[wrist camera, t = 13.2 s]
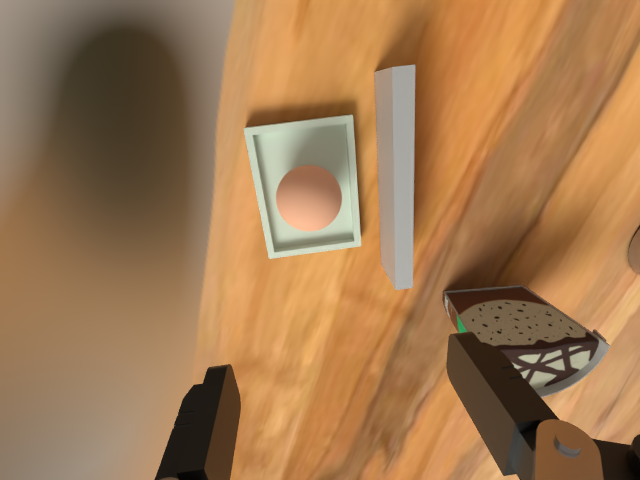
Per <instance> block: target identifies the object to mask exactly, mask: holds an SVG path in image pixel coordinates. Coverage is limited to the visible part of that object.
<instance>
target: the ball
mask: <svg viewBox="0 0 640 480" xmlns="http://www.w3.org/2000/svg"><path fill="white" fill-rule="evenodd" d="M276 204H277V208H278V211H279V213H280V215H281V216H282V218H283V219H284V220H285V221H286V222H287V223H288V224H289V225H290V226H292V227H294V228H296V229H298V230H301V231H317V230H320V229H323V228H325V227H326V226H328V225H329V224H330V223H331V222H332V221H333V220H334V219H335V218H336V217H337V215H338V213H339V211H340V208H341V204H342V193H341V189H340V186H339V183H338V181H337V180H336V178H335V177H334V176H333V175H332V174H331V173H330V172H329V171H327V170H326V169H324V168H322V167H319V166H315V165H303V166H299V167H296V168H294V169H292V170H291V171H289V172H288V173H287V174H286V175H285V176H284V177H283V178H282V180H281V181H280V183H279V185H278V188H277V192H276Z"/></svg>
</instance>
